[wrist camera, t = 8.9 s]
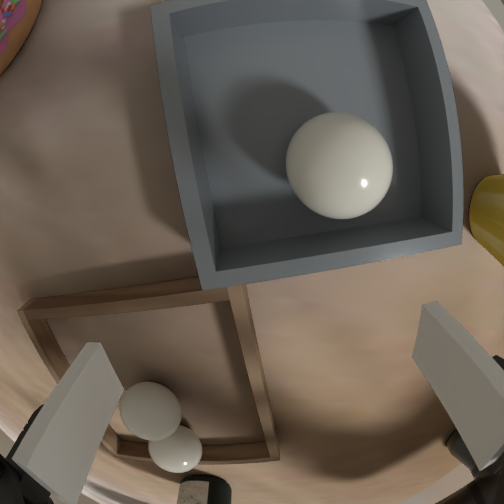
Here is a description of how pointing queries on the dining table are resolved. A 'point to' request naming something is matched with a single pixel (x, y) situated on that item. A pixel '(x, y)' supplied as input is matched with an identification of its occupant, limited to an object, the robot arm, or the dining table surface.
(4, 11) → the donut
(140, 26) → the dining table surface
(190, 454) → the pebble
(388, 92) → the grey shallow box
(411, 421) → the dining table surface
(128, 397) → the pebble
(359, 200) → the off-white glossy ball
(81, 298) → the tray
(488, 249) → the plant pot
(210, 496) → the wine bottle
